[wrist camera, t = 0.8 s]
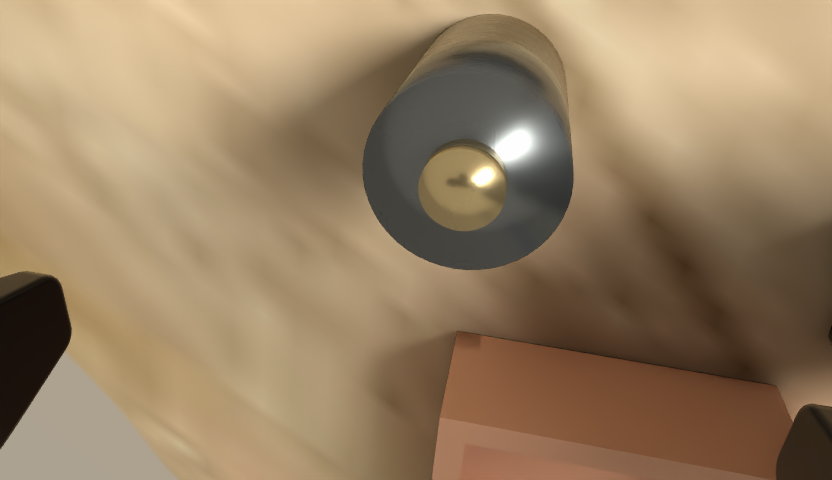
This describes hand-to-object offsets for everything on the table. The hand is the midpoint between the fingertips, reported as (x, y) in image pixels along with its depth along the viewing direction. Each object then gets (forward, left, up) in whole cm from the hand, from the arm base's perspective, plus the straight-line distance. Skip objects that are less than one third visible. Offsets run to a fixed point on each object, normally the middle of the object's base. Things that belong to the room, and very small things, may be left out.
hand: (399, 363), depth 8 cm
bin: (-5, +13, -11) cm, 18 cm away
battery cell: (0, 0, -11) cm, 11 cm away
